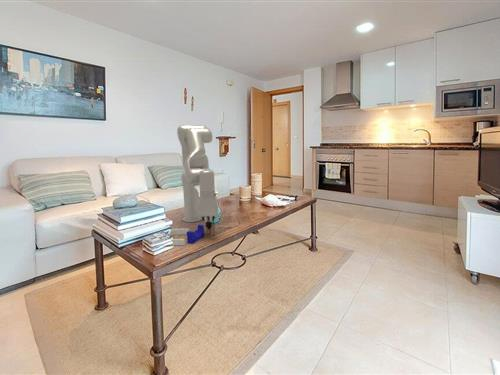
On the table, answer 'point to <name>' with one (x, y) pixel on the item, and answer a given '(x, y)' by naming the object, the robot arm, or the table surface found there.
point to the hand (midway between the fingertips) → (208, 228)
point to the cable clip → (195, 234)
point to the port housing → (178, 232)
